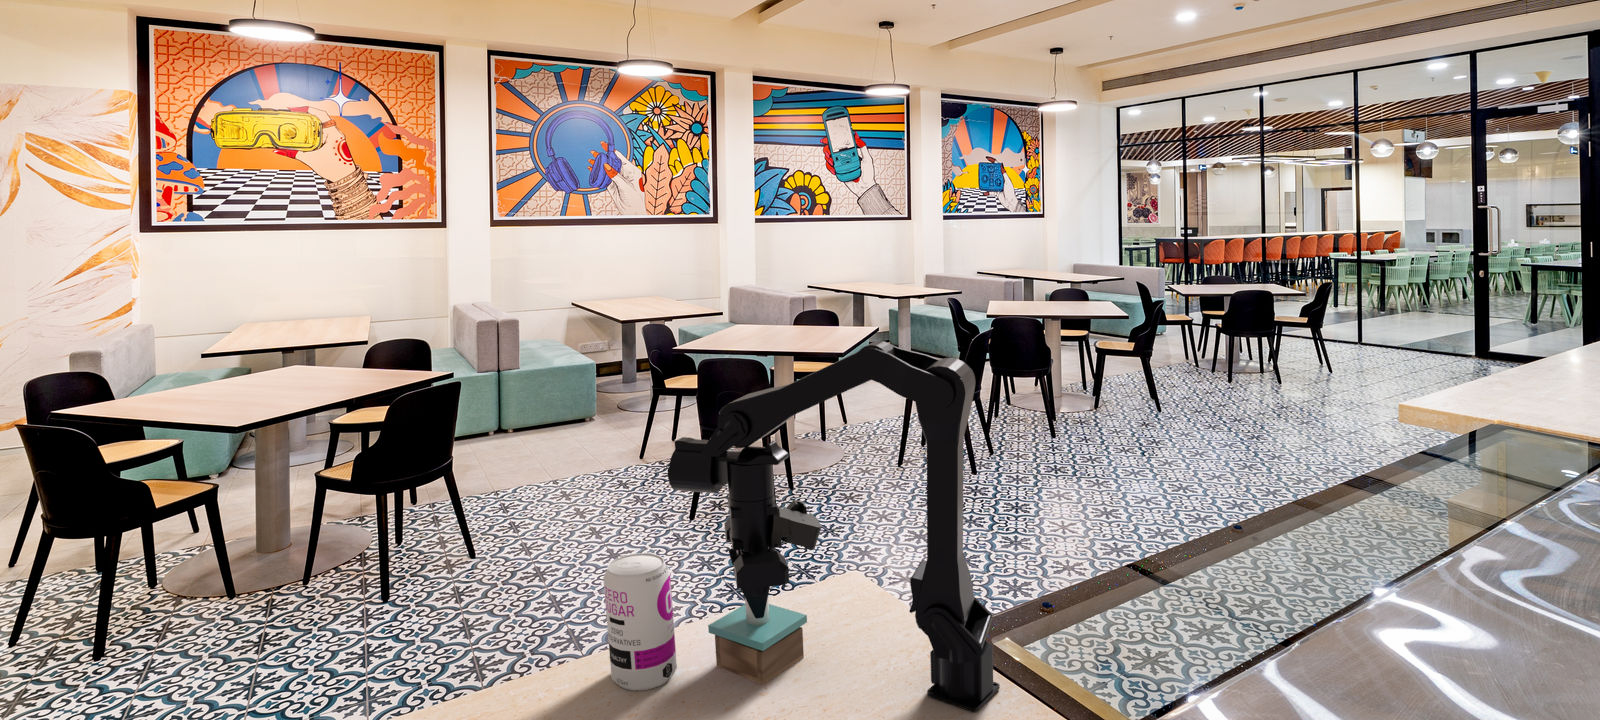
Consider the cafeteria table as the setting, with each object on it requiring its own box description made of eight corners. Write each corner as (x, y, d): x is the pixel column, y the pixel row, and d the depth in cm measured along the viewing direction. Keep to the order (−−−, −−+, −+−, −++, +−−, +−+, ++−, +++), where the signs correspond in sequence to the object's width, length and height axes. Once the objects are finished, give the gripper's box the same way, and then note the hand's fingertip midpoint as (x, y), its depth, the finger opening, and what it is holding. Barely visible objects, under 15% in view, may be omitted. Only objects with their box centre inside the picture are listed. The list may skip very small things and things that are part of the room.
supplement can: (683, 659, 113) (675, 551, 111) (667, 693, 105) (659, 577, 102) (623, 659, 114) (614, 551, 111) (603, 693, 106) (593, 577, 103)
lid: (807, 629, 112) (805, 585, 111) (763, 658, 105) (761, 612, 104) (754, 613, 117) (752, 571, 116) (709, 639, 110) (706, 595, 109)
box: (803, 660, 112) (802, 627, 111) (763, 686, 106) (761, 652, 105) (758, 643, 117) (756, 612, 116) (716, 667, 111) (714, 635, 110)
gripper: (829, 512, 100) (834, 638, 103) (802, 469, 118) (807, 576, 121) (733, 521, 98) (741, 649, 101) (721, 476, 117) (727, 585, 119)
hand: (757, 612), depth 110 cm, fingers closed on lid, 3 cm apart
